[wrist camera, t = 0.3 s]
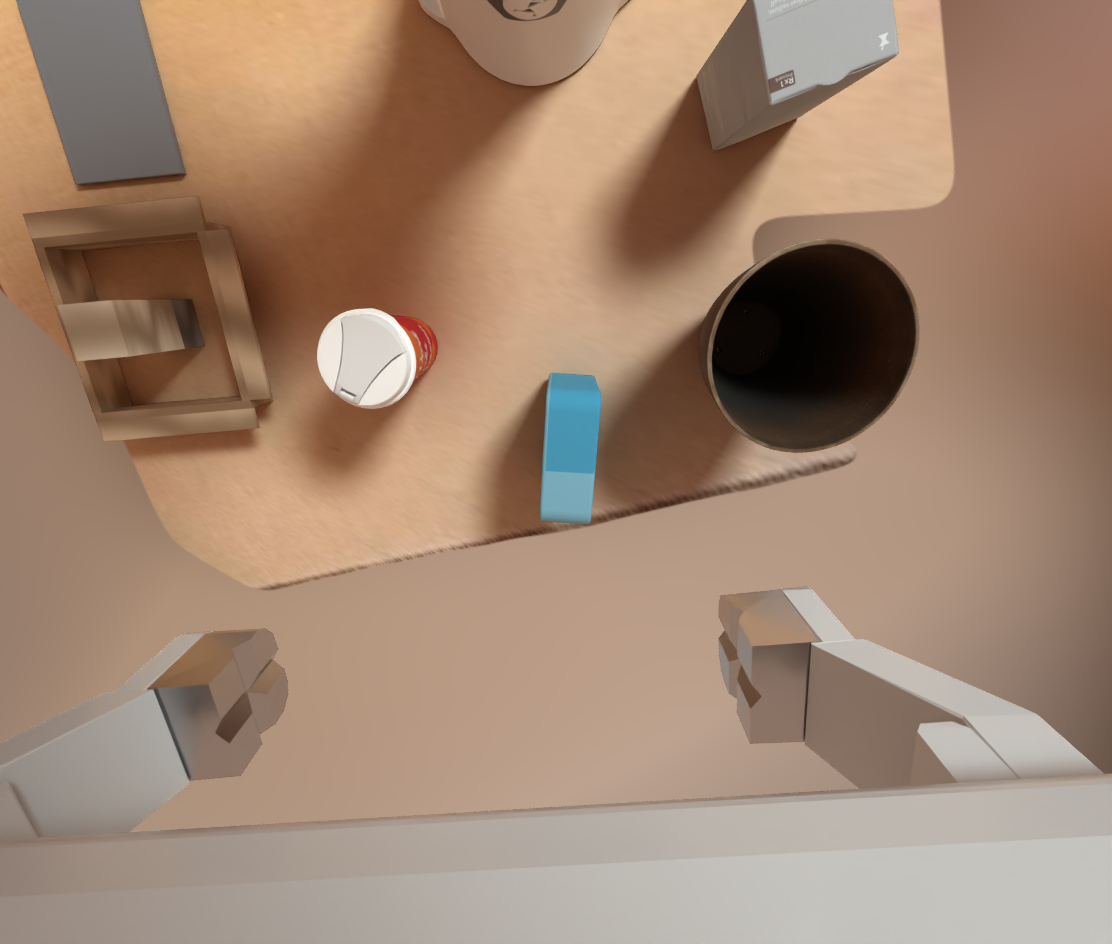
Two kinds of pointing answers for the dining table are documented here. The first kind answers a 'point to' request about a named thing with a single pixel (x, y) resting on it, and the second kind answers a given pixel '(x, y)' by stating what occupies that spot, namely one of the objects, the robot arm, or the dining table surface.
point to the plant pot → (810, 345)
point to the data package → (569, 448)
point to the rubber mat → (103, 88)
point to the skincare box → (790, 61)
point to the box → (130, 327)
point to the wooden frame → (70, 283)
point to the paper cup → (374, 356)
